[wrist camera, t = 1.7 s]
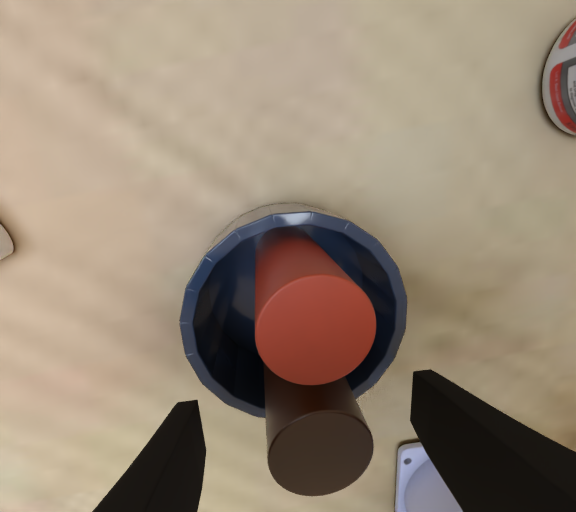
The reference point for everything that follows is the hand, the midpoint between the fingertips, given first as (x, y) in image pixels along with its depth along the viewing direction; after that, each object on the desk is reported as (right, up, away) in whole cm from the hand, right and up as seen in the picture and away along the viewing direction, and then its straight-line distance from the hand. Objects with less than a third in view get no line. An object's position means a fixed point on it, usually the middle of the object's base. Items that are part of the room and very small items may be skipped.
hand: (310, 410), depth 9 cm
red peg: (-1, +5, +5) cm, 7 cm away
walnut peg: (-1, +1, +6) cm, 6 cm away
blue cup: (-1, +3, +6) cm, 7 cm away
